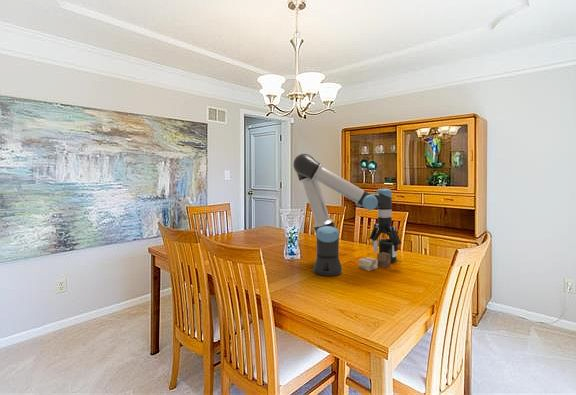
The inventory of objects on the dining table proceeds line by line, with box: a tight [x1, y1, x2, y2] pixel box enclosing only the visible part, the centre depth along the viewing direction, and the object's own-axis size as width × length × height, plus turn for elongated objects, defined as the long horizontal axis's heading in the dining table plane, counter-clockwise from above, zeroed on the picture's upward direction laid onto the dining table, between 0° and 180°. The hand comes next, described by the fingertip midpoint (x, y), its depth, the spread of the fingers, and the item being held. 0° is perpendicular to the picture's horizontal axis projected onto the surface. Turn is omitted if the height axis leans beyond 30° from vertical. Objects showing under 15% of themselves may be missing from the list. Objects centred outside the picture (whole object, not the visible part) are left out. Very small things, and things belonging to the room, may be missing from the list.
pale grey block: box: [358, 256, 379, 272], centre depth 178 cm, size 7×7×5 cm
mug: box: [378, 238, 398, 263], centre depth 193 cm, size 11×15×12 cm
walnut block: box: [376, 252, 391, 269], centre depth 181 cm, size 5×5×7 cm
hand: (384, 254), depth 181 cm, fingers open, 13 cm apart
